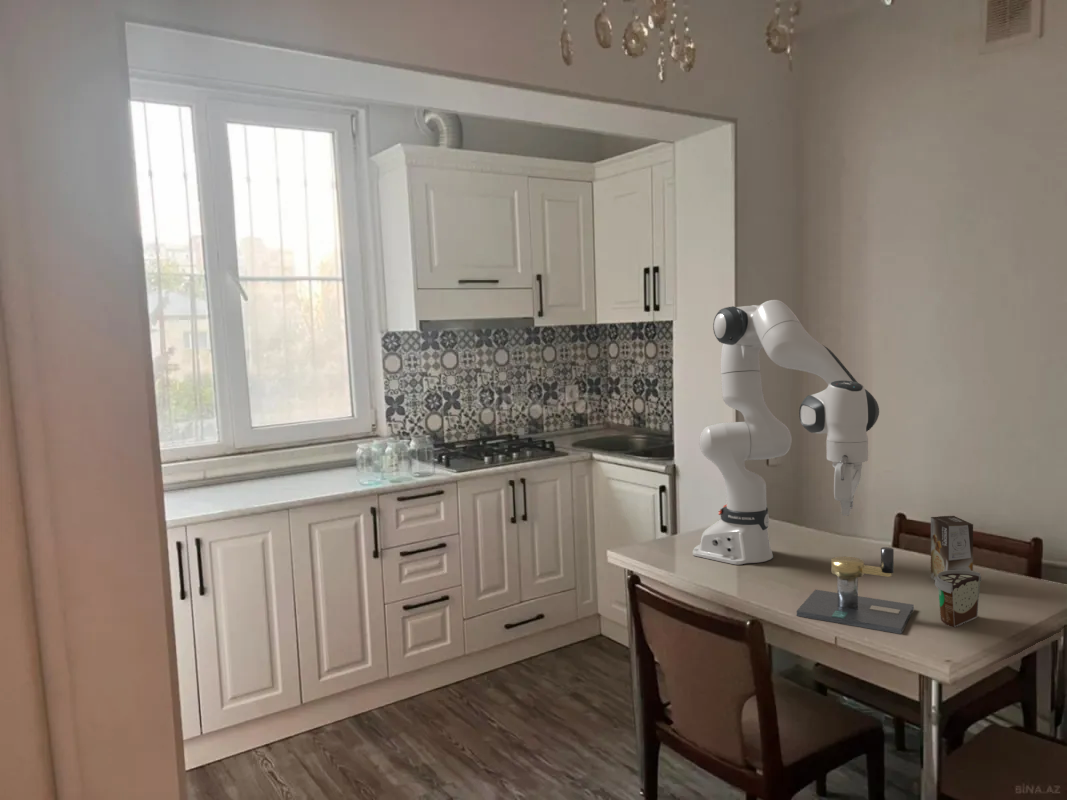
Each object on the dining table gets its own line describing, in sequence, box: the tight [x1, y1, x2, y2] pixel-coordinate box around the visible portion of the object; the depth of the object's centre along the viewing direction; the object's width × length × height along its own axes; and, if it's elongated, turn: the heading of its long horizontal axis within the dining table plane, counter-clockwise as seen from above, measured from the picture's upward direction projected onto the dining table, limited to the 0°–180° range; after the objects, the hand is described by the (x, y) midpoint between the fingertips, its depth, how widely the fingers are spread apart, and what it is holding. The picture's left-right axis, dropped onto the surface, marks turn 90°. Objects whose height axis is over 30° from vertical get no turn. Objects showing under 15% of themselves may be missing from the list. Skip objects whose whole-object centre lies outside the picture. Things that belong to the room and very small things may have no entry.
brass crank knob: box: [830, 546, 895, 578], centre depth 178 cm, size 13×7×7 cm, turn 55°
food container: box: [934, 570, 982, 628], centre depth 173 cm, size 12×6×10 cm, turn 123°
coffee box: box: [930, 515, 974, 582], centre depth 195 cm, size 9×6×16 cm
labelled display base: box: [796, 576, 915, 635], centre depth 178 cm, size 22×16×8 cm
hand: (847, 511), depth 179 cm, fingers open, 5 cm apart
